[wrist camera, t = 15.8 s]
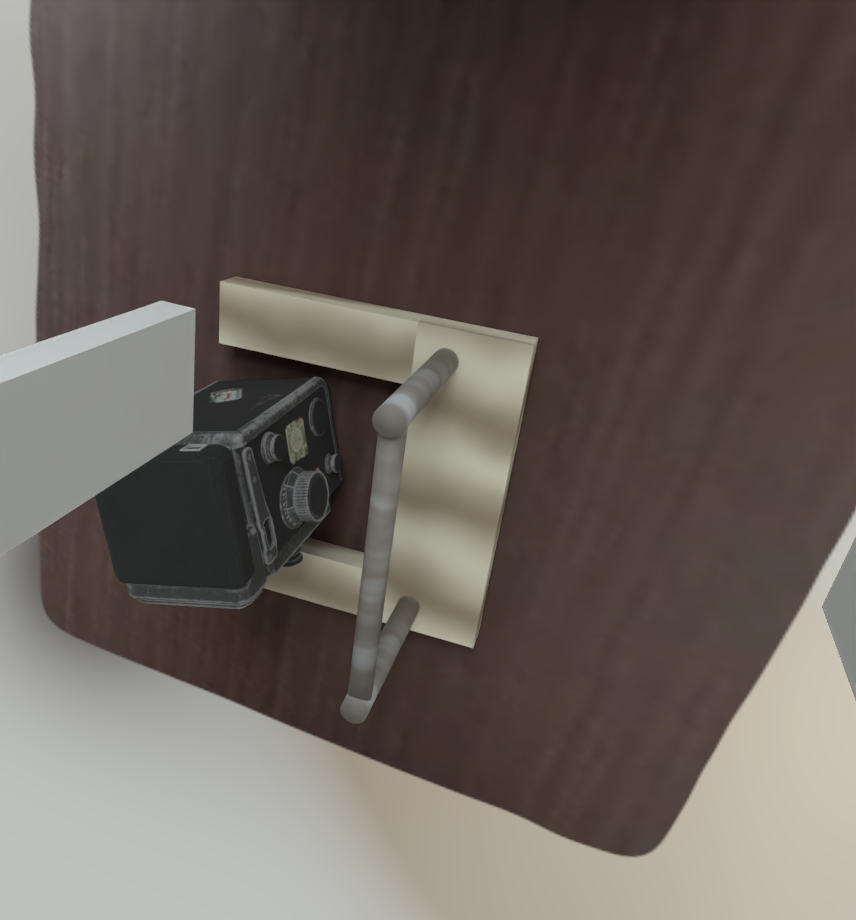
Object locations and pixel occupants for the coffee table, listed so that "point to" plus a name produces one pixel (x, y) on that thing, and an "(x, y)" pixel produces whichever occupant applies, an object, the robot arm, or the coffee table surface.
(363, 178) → the coffee table surface
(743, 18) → the coffee table surface
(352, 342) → the wooden rack
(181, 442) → the camera
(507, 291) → the coffee table surface
